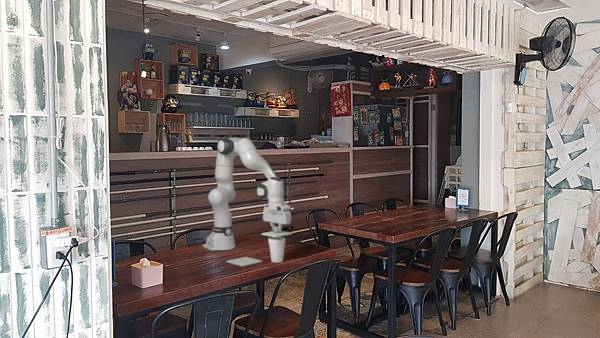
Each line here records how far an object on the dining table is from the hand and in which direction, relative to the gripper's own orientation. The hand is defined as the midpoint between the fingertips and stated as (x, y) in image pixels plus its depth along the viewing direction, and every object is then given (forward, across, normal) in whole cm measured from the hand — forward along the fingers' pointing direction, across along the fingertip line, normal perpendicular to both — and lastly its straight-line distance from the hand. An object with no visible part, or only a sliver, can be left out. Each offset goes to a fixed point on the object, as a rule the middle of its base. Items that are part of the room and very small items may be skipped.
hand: (276, 230), depth 276 cm
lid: (+2, 0, 0) cm, 2 cm away
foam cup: (+17, 0, 0) cm, 17 cm away
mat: (+17, -12, -14) cm, 25 cm away
